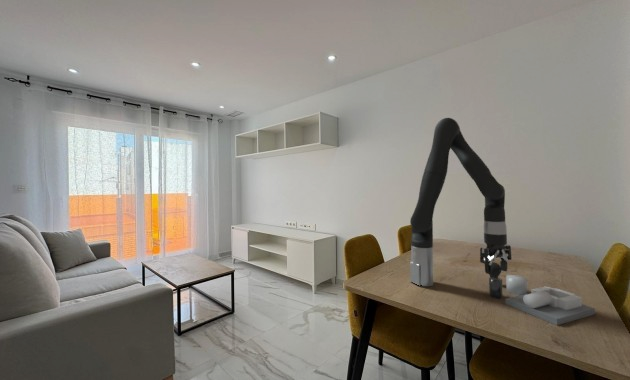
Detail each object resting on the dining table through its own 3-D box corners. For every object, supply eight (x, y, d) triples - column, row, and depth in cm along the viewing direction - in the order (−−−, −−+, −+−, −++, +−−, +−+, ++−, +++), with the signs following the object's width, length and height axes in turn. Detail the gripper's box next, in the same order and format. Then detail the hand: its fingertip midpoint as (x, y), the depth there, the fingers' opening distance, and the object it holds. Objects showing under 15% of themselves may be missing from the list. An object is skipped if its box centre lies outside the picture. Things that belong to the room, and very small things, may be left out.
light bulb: (497, 287, 112) (497, 265, 111) (483, 283, 117) (483, 261, 116) (504, 285, 114) (504, 263, 114) (490, 281, 119) (490, 259, 119)
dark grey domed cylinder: (497, 299, 101) (496, 281, 100) (486, 295, 105) (486, 278, 105) (505, 297, 102) (505, 280, 102) (494, 293, 106) (494, 276, 106)
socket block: (556, 325, 82) (556, 305, 81) (505, 303, 97) (505, 287, 97) (595, 314, 88) (594, 295, 88) (541, 295, 103) (541, 279, 103)
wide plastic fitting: (519, 296, 103) (519, 281, 103) (502, 290, 109) (502, 276, 109) (531, 293, 105) (531, 279, 105) (513, 287, 111) (513, 274, 111)
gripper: (491, 235, 97) (492, 277, 97) (517, 231, 102) (518, 272, 102) (473, 232, 104) (474, 272, 105) (498, 229, 109) (499, 267, 109)
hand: (496, 272), depth 103 cm, fingers open, 8 cm apart
